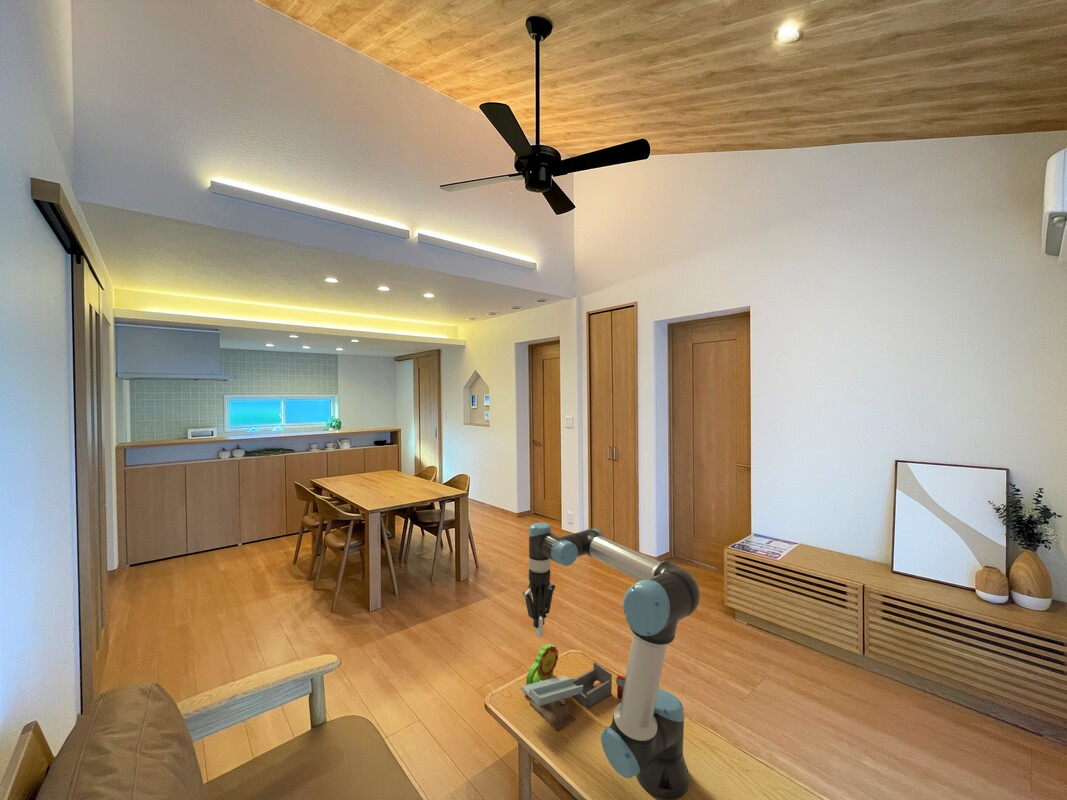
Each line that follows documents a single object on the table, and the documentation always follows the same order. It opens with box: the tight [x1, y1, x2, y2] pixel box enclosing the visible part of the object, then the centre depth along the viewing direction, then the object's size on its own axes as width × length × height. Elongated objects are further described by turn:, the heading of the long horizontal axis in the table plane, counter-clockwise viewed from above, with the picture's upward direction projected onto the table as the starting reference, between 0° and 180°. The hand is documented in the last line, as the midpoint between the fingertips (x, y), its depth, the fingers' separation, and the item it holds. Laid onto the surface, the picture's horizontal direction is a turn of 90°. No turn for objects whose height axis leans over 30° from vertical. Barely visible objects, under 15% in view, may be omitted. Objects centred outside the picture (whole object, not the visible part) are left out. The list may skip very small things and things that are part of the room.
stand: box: [529, 699, 576, 732], centre depth 151 cm, size 15×8×6 cm, turn 37°
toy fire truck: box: [615, 674, 626, 705], centre depth 153 cm, size 7×12×10 cm, turn 65°
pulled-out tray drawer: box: [571, 661, 613, 710], centre depth 159 cm, size 9×12×8 cm
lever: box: [520, 674, 583, 706], centre depth 151 cm, size 13×20×3 cm, turn 127°
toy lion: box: [523, 643, 559, 696], centre depth 163 cm, size 16×5×15 cm, turn 137°
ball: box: [593, 681, 601, 688], centre depth 161 cm, size 3×3×3 cm
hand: (538, 635), depth 151 cm, fingers closed
